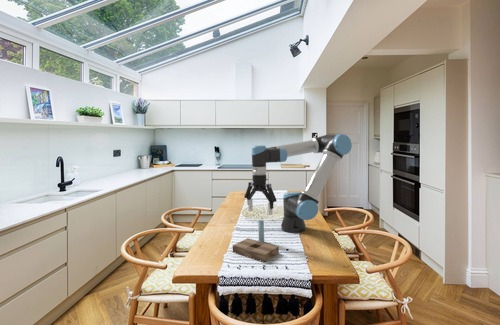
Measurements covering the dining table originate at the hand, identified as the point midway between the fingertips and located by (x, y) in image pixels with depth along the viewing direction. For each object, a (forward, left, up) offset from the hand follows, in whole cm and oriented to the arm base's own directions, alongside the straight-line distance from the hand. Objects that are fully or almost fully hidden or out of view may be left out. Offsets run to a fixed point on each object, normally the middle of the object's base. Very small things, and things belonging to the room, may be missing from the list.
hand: (260, 212), depth 151 cm
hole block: (+13, +6, -17) cm, 22 cm away
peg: (0, 0, -17) cm, 17 cm away
